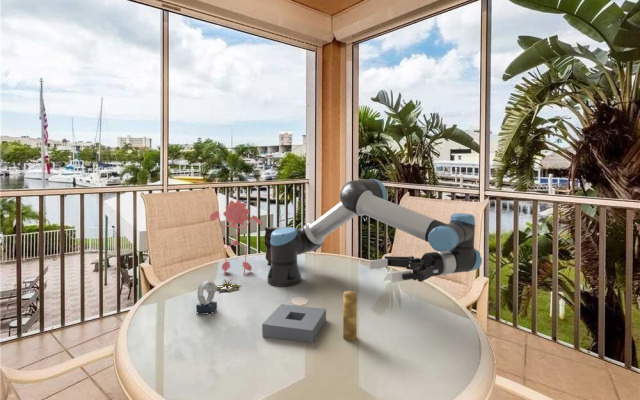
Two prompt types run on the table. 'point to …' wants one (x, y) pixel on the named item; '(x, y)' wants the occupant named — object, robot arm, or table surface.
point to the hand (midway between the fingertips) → (379, 270)
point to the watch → (207, 304)
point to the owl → (267, 242)
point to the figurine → (235, 215)
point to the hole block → (294, 323)
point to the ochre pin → (349, 315)
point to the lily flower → (227, 286)
